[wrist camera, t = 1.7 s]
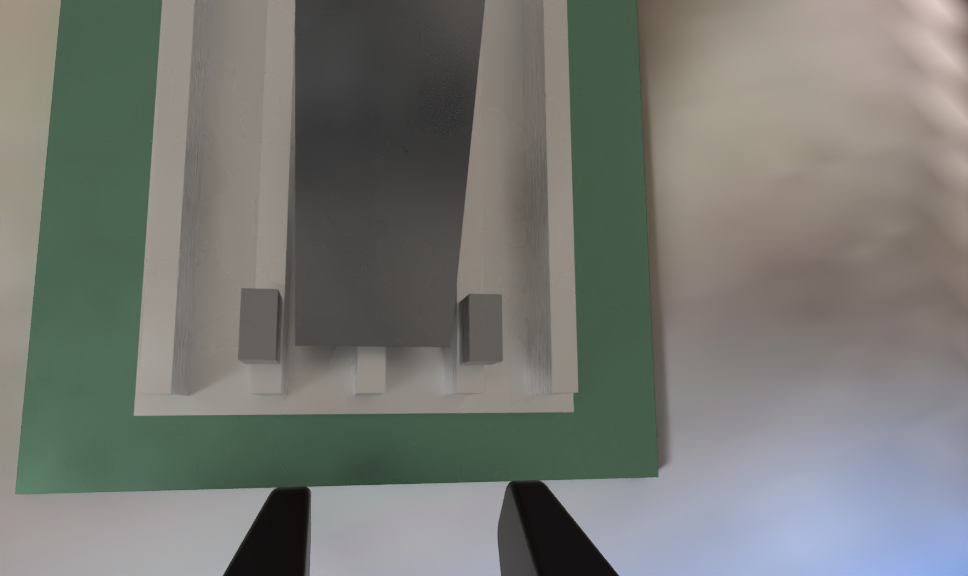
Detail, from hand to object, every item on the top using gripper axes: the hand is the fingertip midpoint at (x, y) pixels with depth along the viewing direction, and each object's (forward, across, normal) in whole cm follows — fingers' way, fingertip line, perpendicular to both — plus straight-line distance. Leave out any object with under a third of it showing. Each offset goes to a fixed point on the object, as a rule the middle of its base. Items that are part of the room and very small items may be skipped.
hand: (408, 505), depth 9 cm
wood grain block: (+10, 0, -1) cm, 10 cm away
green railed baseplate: (+16, 0, +3) cm, 16 cm away
